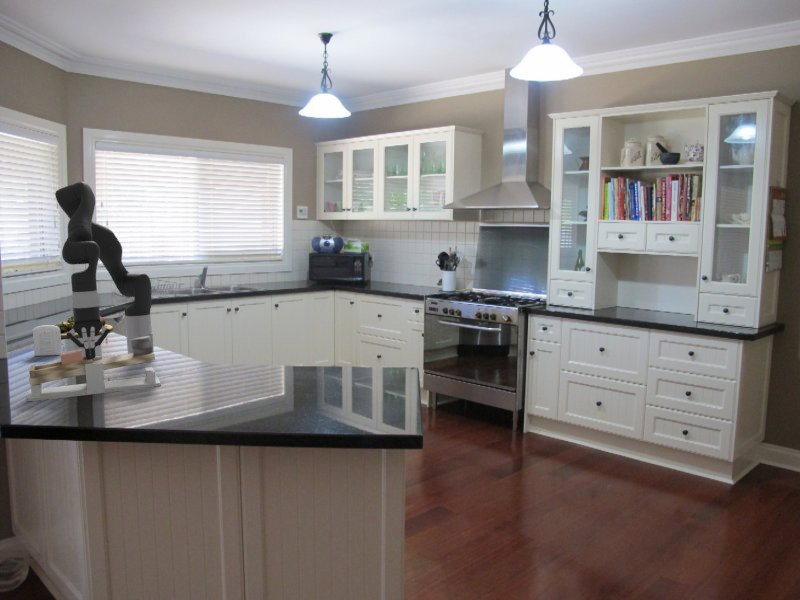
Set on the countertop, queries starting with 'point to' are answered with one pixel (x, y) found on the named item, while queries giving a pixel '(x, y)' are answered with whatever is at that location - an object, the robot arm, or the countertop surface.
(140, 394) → the countertop surface
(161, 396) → the countertop surface
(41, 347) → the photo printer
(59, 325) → the wooden plate with food
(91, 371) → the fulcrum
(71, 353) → the rider
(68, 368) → the beam
